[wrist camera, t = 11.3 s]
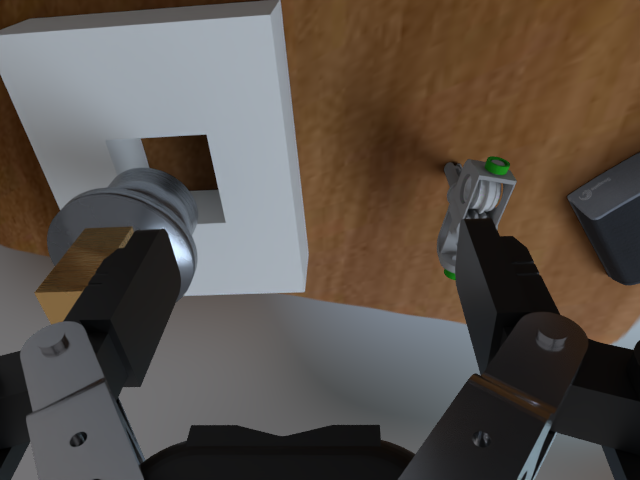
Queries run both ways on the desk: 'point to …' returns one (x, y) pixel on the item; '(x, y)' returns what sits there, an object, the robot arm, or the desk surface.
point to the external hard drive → (613, 218)
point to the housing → (174, 122)
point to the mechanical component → (472, 201)
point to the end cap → (115, 232)
